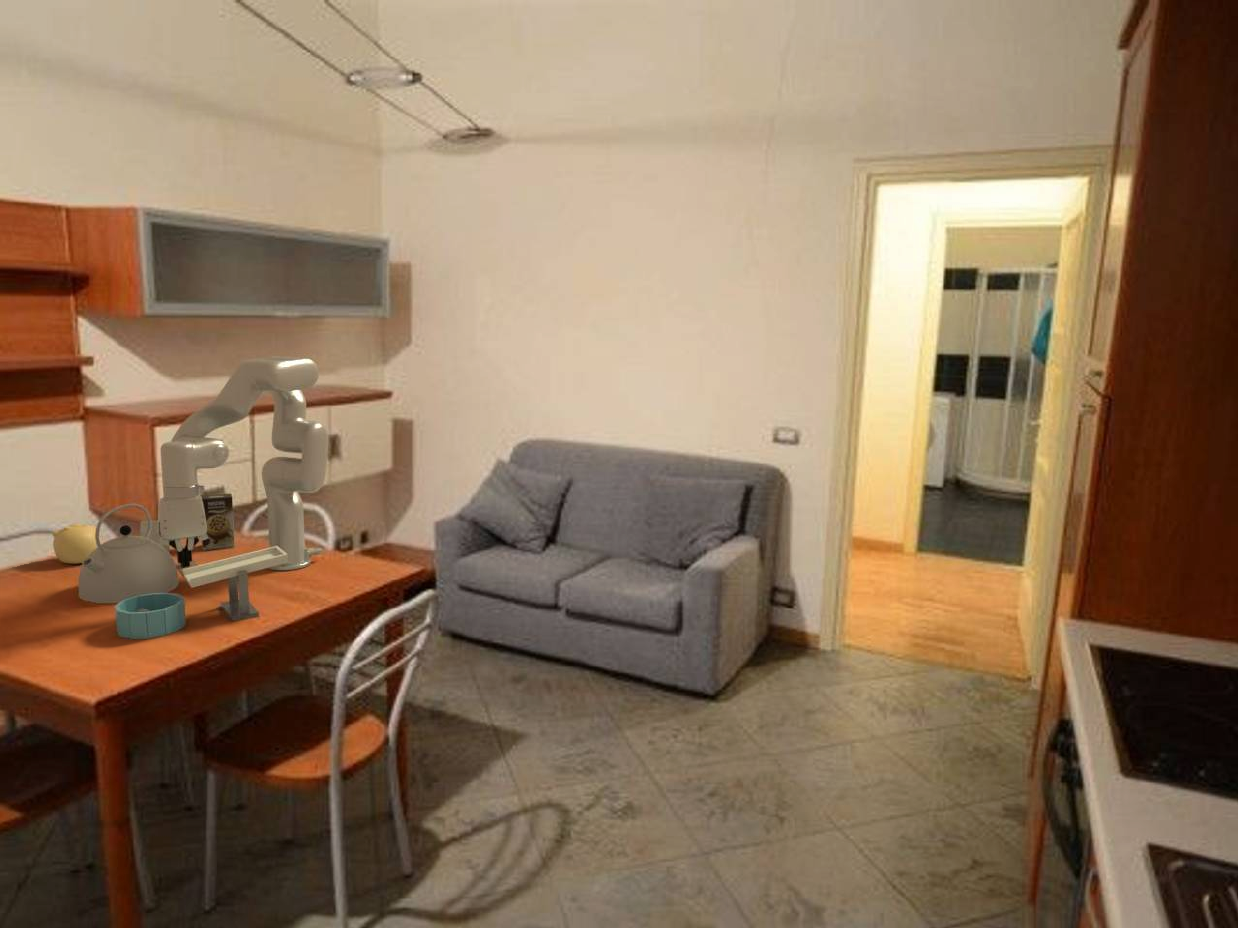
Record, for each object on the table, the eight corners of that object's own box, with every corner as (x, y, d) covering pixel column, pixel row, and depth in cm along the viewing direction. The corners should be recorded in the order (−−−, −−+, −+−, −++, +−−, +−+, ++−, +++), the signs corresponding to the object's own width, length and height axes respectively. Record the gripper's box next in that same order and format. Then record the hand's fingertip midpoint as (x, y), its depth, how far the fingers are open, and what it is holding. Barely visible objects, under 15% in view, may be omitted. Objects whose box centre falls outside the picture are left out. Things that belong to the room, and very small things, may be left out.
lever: (268, 549, 219) (266, 537, 218) (289, 567, 205) (287, 554, 204) (177, 572, 206) (174, 559, 206) (193, 592, 192) (190, 579, 191)
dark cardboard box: (202, 550, 252) (199, 499, 249) (202, 545, 258) (198, 494, 255) (235, 547, 256) (232, 496, 253) (234, 542, 262) (231, 492, 259)
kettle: (126, 610, 202) (119, 521, 198) (48, 601, 207) (39, 514, 203) (198, 579, 226) (192, 499, 222) (126, 572, 231) (120, 493, 227)
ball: (132, 605, 191) (129, 622, 191) (135, 611, 188) (131, 628, 188) (152, 607, 193) (148, 623, 193) (155, 612, 190) (151, 629, 190)
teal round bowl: (178, 612, 201) (176, 589, 200) (190, 630, 191) (188, 605, 190) (113, 624, 193) (111, 599, 192) (122, 643, 183) (120, 617, 182)
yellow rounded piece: (98, 552, 247) (95, 517, 245) (106, 562, 238) (103, 526, 236) (52, 559, 240) (48, 523, 238) (59, 569, 231) (55, 532, 229)
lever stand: (246, 601, 210) (243, 558, 208) (259, 616, 201) (256, 570, 199) (220, 606, 206) (217, 562, 204) (232, 621, 197) (229, 574, 195)
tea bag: (166, 554, 247) (164, 522, 246) (141, 555, 246) (138, 523, 244) (169, 551, 251) (167, 519, 249) (144, 552, 249) (142, 519, 247)
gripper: (210, 486, 209) (214, 557, 212) (143, 492, 200) (148, 566, 203) (217, 492, 203) (221, 564, 206) (148, 498, 194) (153, 573, 197)
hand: (185, 564), depth 204 cm, fingers closed
